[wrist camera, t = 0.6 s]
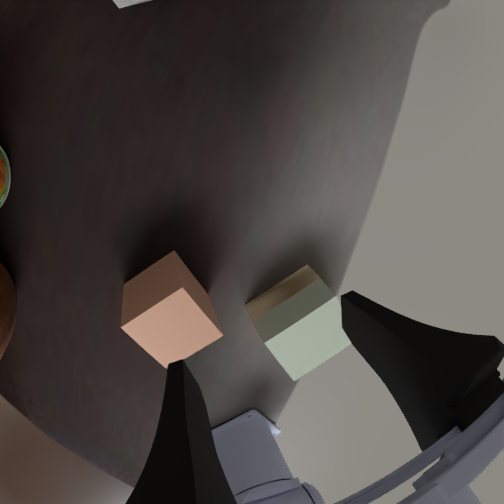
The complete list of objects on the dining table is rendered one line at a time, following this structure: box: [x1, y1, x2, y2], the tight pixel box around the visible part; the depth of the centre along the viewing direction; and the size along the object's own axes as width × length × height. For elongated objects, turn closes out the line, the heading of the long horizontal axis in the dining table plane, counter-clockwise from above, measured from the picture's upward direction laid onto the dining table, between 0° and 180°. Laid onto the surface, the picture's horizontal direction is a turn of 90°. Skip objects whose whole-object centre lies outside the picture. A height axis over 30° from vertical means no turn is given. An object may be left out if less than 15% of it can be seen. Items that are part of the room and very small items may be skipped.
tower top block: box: [253, 278, 351, 381], centre depth 23 cm, size 6×6×2 cm
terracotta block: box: [121, 251, 224, 369], centre depth 20 cm, size 4×4×5 cm
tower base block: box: [245, 265, 321, 321], centre depth 25 cm, size 6×6×2 cm
